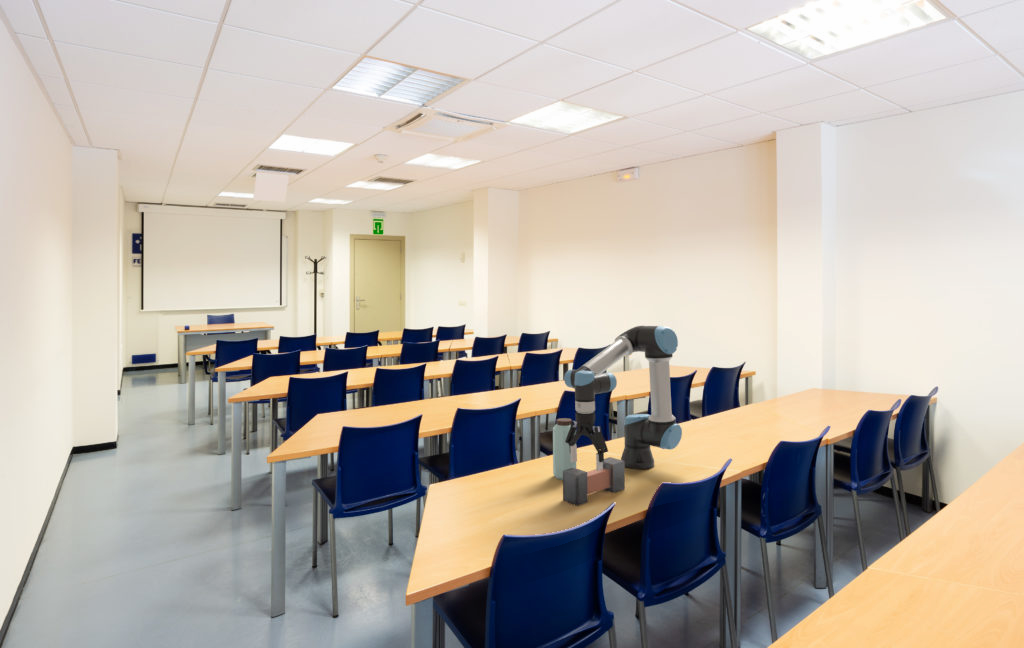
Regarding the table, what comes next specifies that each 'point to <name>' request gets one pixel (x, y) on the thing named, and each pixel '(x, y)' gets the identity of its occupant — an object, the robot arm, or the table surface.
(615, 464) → the sleeve
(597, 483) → the pink rectangular block
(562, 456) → the water bottle
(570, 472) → the socket
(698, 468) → the table surface
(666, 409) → the robot arm
